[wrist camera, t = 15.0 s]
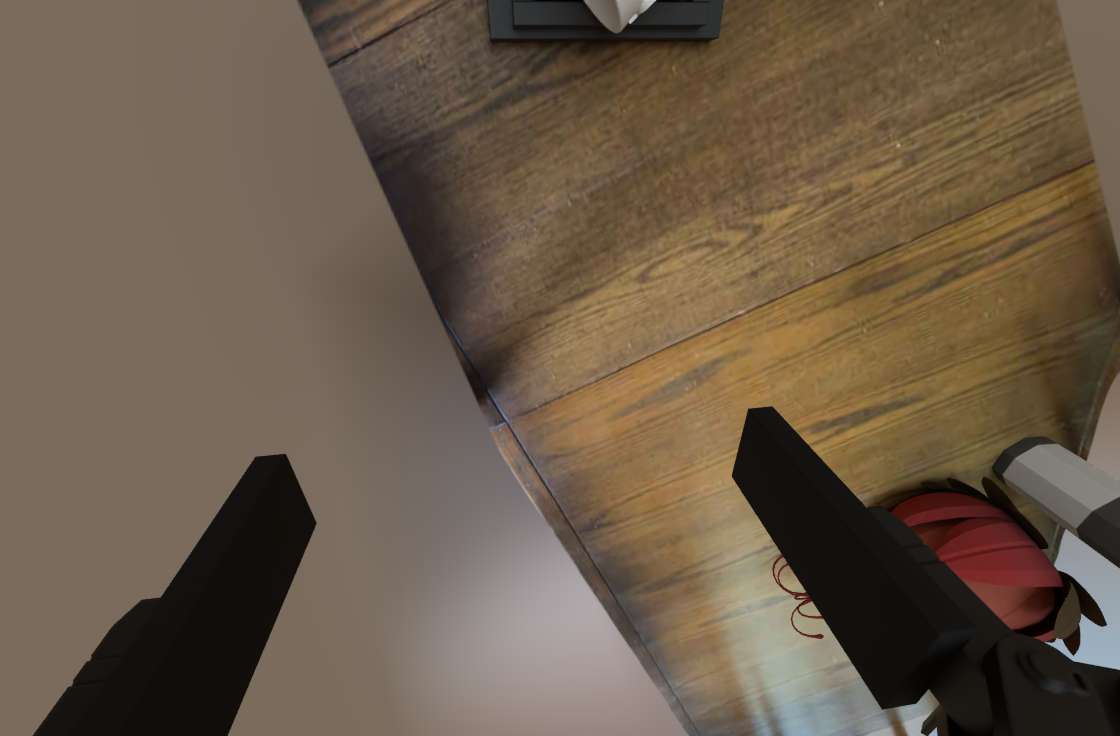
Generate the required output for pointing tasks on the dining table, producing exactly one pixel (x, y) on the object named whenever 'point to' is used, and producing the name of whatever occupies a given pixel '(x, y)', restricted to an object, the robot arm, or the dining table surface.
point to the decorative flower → (995, 561)
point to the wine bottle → (1066, 491)
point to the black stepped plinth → (562, 15)
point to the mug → (617, 11)
